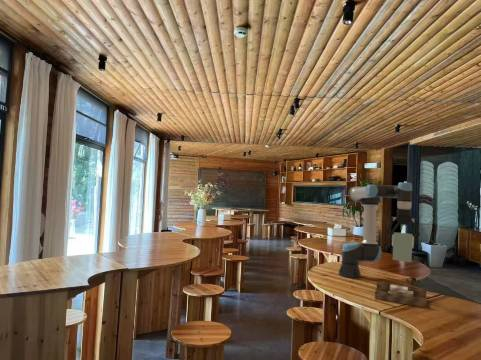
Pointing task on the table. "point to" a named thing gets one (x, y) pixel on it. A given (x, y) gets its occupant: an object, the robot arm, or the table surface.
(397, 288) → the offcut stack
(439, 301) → the table surface
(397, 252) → the grey-green flat block
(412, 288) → the rack
